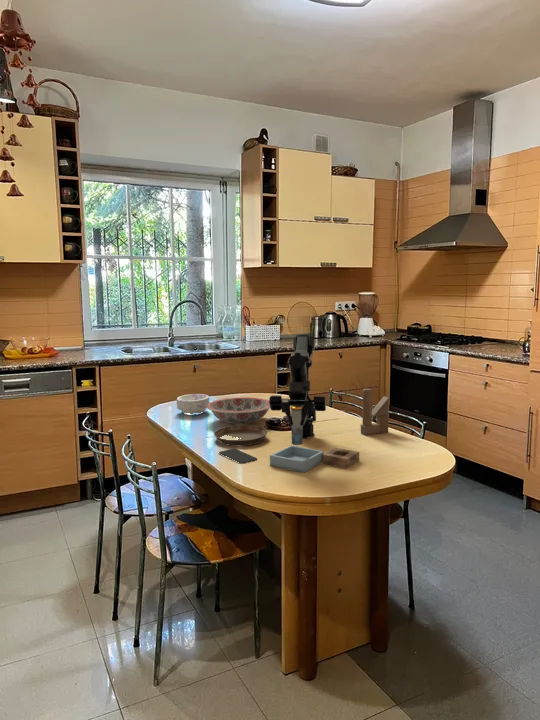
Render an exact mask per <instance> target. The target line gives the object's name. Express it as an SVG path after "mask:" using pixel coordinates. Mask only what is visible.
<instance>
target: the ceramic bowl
mask: <svg viewBox="0 0 540 720" xmlns="http://www.w3.org/2000/svg"><path fill="white" fill-rule="evenodd" d="M206 407H207V408H206V410H209V411H211V413H212V415H213V416H214V417H216V419H218V420H220V421H221V422H224V423H227V424H232V425H233V424H235V425H246V424H251V423H254V422H257V421H259V420H261V419H262V418H263V417H264V416H265V415H266V414H267V412H269V410H270V409H271V408H270V403H269V399H266V398H260V397H250V396H249V397H248V396H247V397H241V396H240V397H227V398H221V399H216V400H213V401H209V403H208V404H207V406H206Z"/></svg>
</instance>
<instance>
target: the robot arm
mask: <svg viewBox="0 0 540 720" xmlns="http://www.w3.org/2000/svg"><path fill="white" fill-rule="evenodd" d="M315 345H316V342H315V338H314V337H312V336H310V334H308V333H298V334H296V336H295V337H294V338H293V341H292V348H293V352H292V353H291V355H290V357H289V358H288V361H287V367H288V368H289V374H290V382H289V384H288V385H289V386H288V388H289V389H288V398H287V397H286V398H283V397H282V395H270V397H269V398H268V400H269V403H270V408H269V409H270V411H274V412H275V411H277V412H278V411H281V412H282V413H284V414H285V415H286V417H287V420H288V424H289V426H291V406H293V405H301V406H303V408H302V438H303V439H309V438H310V437H311V438H312V437H313V436H315V433H314V423H315V422H316V421H317V412H325V411H326V409H327V407H326V406H327V402H326V401H327V400H326V397H325V395H313V399H311V398H310V396H309V395H310V393H309V392H310V391H311V380H310V369H311V368H312V366H313V360H312V359H311V358H313V356H314V351H315V349H316V348H315V347H316V346H315Z"/></svg>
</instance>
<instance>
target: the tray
mask: <svg viewBox="0 0 540 720" xmlns="http://www.w3.org/2000/svg"><path fill="white" fill-rule="evenodd" d="M323 454H325V451H324V450H318V449H313V448H309V447H302V446H299V445H293V444H291V445H289V446H287V447H284V448H283V449H281V450H278V451H276V452H274V453H272V454H269V466H271V467H275V468H281V469H284V470H289V471H293V472H298V473H302V474H304V473H306V472H308V471H310V470H312V469H313V468H315V467H317V466H318V465H320V464H323Z"/></svg>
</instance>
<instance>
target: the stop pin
mask: <svg viewBox="0 0 540 720" xmlns="http://www.w3.org/2000/svg"><path fill="white" fill-rule="evenodd" d="M302 408H303V406H301V405H293V406H290V410H291V428H290V429H291V445H292V446H301V445H303V439H304V438H302Z"/></svg>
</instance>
